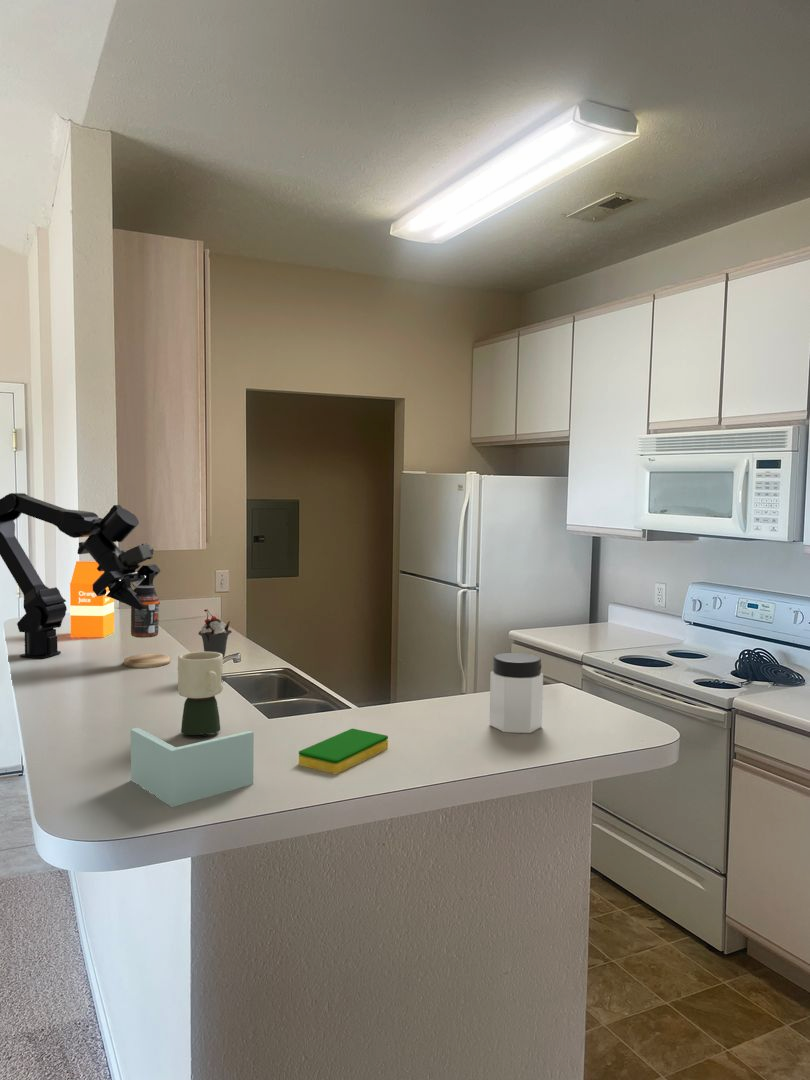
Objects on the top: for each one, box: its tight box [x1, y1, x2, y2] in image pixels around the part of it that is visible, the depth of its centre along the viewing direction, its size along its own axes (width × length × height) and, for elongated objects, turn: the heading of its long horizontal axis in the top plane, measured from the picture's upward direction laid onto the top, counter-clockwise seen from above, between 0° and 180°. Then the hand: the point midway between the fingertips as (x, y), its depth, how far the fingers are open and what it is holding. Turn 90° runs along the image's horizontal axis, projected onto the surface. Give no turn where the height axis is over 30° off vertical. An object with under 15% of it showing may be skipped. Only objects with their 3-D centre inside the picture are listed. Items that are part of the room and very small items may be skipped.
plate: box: [123, 653, 171, 669], centre depth 181 cm, size 10×10×1 cm
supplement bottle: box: [130, 585, 160, 639], centre depth 180 cm, size 6×6×11 cm
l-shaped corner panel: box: [130, 727, 255, 808], centre depth 109 cm, size 12×12×8 cm
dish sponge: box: [298, 728, 389, 774], centre depth 120 cm, size 7×14×2 cm, turn 148°
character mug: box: [177, 651, 224, 736], centre depth 130 cm, size 11×7×13 cm, turn 38°
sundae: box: [197, 608, 233, 682], centre depth 167 cm, size 7×7×15 cm
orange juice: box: [69, 560, 115, 638], centre depth 214 cm, size 8×9×20 cm
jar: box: [489, 652, 544, 734], centre depth 136 cm, size 9×8×12 cm
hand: (150, 607), depth 179 cm, fingers closed on supplement bottle, 6 cm apart
